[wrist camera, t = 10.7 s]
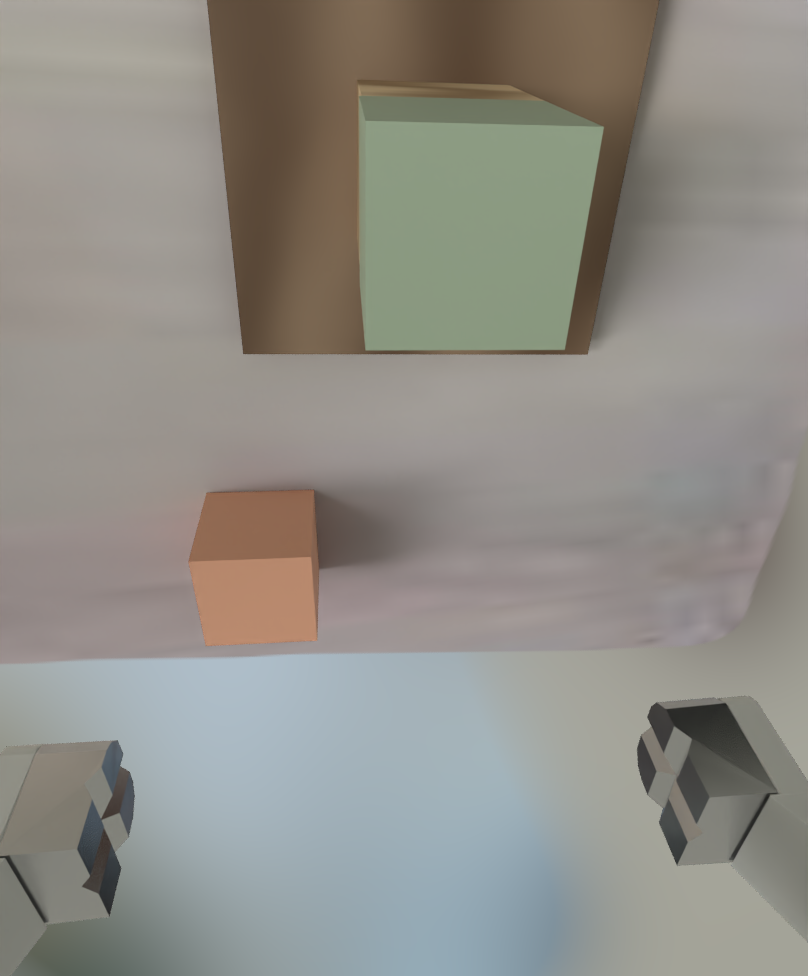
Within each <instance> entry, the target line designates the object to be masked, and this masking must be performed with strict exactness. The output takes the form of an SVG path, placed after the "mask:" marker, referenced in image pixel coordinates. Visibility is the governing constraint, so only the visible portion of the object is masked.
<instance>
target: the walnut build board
mask: <svg viewBox="0 0 808 976" xmlns="http://www.w3.org/2000/svg"><path fill="white" fill-rule="evenodd" d="M207 5H208V14H209V24H210V34H211V44H212V53H213V63H214V73H215V83H216V92H217V102H218V112H219V122H220V131H221V141H222V151H223V161H224V170H225V180H226V190H227V200H228V210H229V219H230V229H231V239H232V249H233V258H234V268H235V278H236V288H237V297H238V307H239V317H240V327H241V336H242V346H243V354H588V350H589V346H590V341H591V336H592V331H593V326H594V321H595V316H596V311H597V306H598V301H599V296H600V291H601V286H602V281H603V276H604V271H605V267H606V262H607V257H608V252H609V247H610V242H611V237H612V232H613V227H614V222H615V217H616V212H617V207H618V202H619V197H620V192H621V188H622V183H623V178H624V173H625V168H626V163H627V158H628V153H629V148H630V143H631V138H632V133H633V128H634V123H635V118H636V113H637V108H638V104H639V99H640V94H641V89H642V84H643V79H644V74H645V69H646V64H647V59H648V54H649V49H650V44H651V39H652V34H653V29H654V25H655V20H656V15H657V10H658V5H659V0H207ZM359 96H391V97H426V98H462V99H497V100H532V101H546V102H549V103H551V104H553V105H555V106H558V107H560V108H562V109H564V110H567V111H569V112H571V113H574V114H576V115H578V116H580V117H583V118H585V119H587V120H589V121H592V122H594V123H596V124H599V125H601V126H603V127H604V129H603V135H602V141H601V146H600V152H599V158H598V163H597V169H596V175H595V181H594V186H593V192H592V198H591V203H590V209H589V215H588V220H587V226H586V232H585V237H584V243H583V249H582V254H581V260H580V266H579V271H578V277H577V283H576V289H575V294H574V300H573V306H572V311H571V317H570V323H569V328H568V334H567V340H566V345H565V350H365V339H364V327H363V316H362V304H361V293H360V239H359Z"/></svg>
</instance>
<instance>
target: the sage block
mask: <svg viewBox="0 0 808 976" xmlns="http://www.w3.org/2000/svg"><path fill="white" fill-rule="evenodd" d="M603 129H604V127H603V126H601V125H599V124H596V123H594V122H592V121H589V120H587V119H585V118H583V117H580V116H578V115H576V114H574V113H571V112H569V111H567V110H564V109H562V108H560V107H558V106H555V105H553V104H551V103H549V102H546V101H532V100H497V99H462V98H426V97H391V96H359V239H360V293H361V304H362V316H363V327H364V339H365V350H565V345H566V340H567V334H568V328H569V323H570V317H571V311H572V306H573V300H574V294H575V289H576V283H577V277H578V271H579V266H580V260H581V254H582V249H583V243H584V237H585V232H586V226H587V220H588V215H589V209H590V203H591V198H592V192H593V186H594V181H595V175H596V169H597V163H598V158H599V152H600V146H601V141H602V135H603Z"/></svg>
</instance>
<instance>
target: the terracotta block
mask: <svg viewBox="0 0 808 976" xmlns="http://www.w3.org/2000/svg"><path fill="white" fill-rule="evenodd" d="M189 567H190V572H191V576H192V581H193V586H194V591H195V596H196V601H197V605H198V610H199V615H200V620H201V625H202V630H203V635H204V639H205V644H206V646H215V645H236V644H257V643H277V642H298V641H317V629H318V590H319V561H318V546H317V530H316V515H315V500H314V490H288V491H253V492H219V493H206V497H205V501H204V505H203V508H202V512H201V516H200V520H199V524H198V527H197V531H196V535H195V539H194V543H193V546H192V550H191V554H190V558H189Z"/></svg>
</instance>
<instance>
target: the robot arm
mask: <svg viewBox="0 0 808 976" xmlns="http://www.w3.org/2000/svg"><path fill="white" fill-rule="evenodd" d="M648 720H649V722H650V724H651V726H652V727H650V728H649V729H648V730H647V731H645V732H644V733H643V734H641V737H640V740H639V744H638V747H637V756H638V767H639V772H640V776H641V779H642V782H643V785H644V787H645V790H646V792H647V795H648V796H649V797H651V798H652V799H653V800H654V801H655V802H656V803H657V804H659V805H660V806H661V807H662V808H663V810H662V814H661V817H660V821H659V824H660V826H661V829H662V831H663V833H664V836H665V838H666V840H667V843H668V845H669V848H670V850H671V852H672V855H673V857H674V860H675V862H676V864H677V866H680V865H695V864H712V863H728V862H732V864H731V866H732V867H733V868H734V869H735V870H736V871H737V872H738V873H739V874H740V875H741V876H742V877H743V878H744V879H745V880H746V881H747V882H748V883H749V884H750V885H751V886H752V887H753V888H754V889H755V890H756V891H757V892H758V893H759V894H760V895H761V896H762V897H763V898H764V899H765V900H766V901H767V902H768V903H769V904H770V905H771V906H772V907H773V908H774V909H775V910H776V911H777V912H778V913H779V914H780V915H781V916H782V917H783V918H784V919H785V920H786V921H787V922H788V923H789V924H790V925H791V926H792V927H793V928H794V929H795V930H796V931H797V932H798V933H799V934H800V935H801V936H802V937H803V938H804V939H805V940H806V941H807V942H808V781H807V779H806V777H805V776H804V774H803V773H802V771H801V770H800V768H799V767H798V765H797V763H796V762H795V760H794V759H793V757H792V756H791V754H790V753H789V751H788V749H787V748H786V746H785V745H784V743H783V741H782V740H781V738H780V737H779V735H778V734H777V732H776V730H775V729H774V727H773V726H772V724H771V723H770V721H769V720H768V718H767V716H766V715H765V713H764V712H763V710H762V708H761V707H760V705H759V704H758V702H757V701H755V700H754V699H753V698H752V697H750V696H738V697H728V698H717V699H716V698H703V699H691V700H680V701H667V702H657V703H655V704H654V705H653V706H651V709H650V711H649V714H648ZM122 757H123V752H122V750H121V747H120V745H119V742H118V740H116V741H97V742H80V743H79V742H78V743H59V744H37V745H22V746H8V747H7V746H6V748H5V749H4V750H3V751H2V752H1V754H0V976H11V975H12V973H13V972H14V971H15V969H16V968H17V967H18V965H19V964H20V963H21V962H22V960H23V959H24V958H25V956H26V955H27V953H28V952H29V951H30V950H31V948H32V947H33V946H34V945H35V943H36V942H37V941H38V939H39V938H40V937H41V936H42V934H43V933H44V932H45V930H46V929H47V927H46V924H54V923H63V922H71V921H80V920H88V919H97V918H104V917H110V913H111V909H112V905H113V901H114V896H115V892H116V888H117V884H118V880H119V876H120V872H121V866H120V864H119V861H118V859H117V856H116V854H115V851H117V849H118V848H119V847H120V846H121V845H122V844H123V843H124V842H125V840H127V838H128V837H129V833H130V829H131V824H132V820H133V812H134V797H135V795H134V786H133V780H132V777H131V774H130V772H129V771H127V770H126V769H124V768H122V767H121V766H120V765H121V761H122Z"/></svg>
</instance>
